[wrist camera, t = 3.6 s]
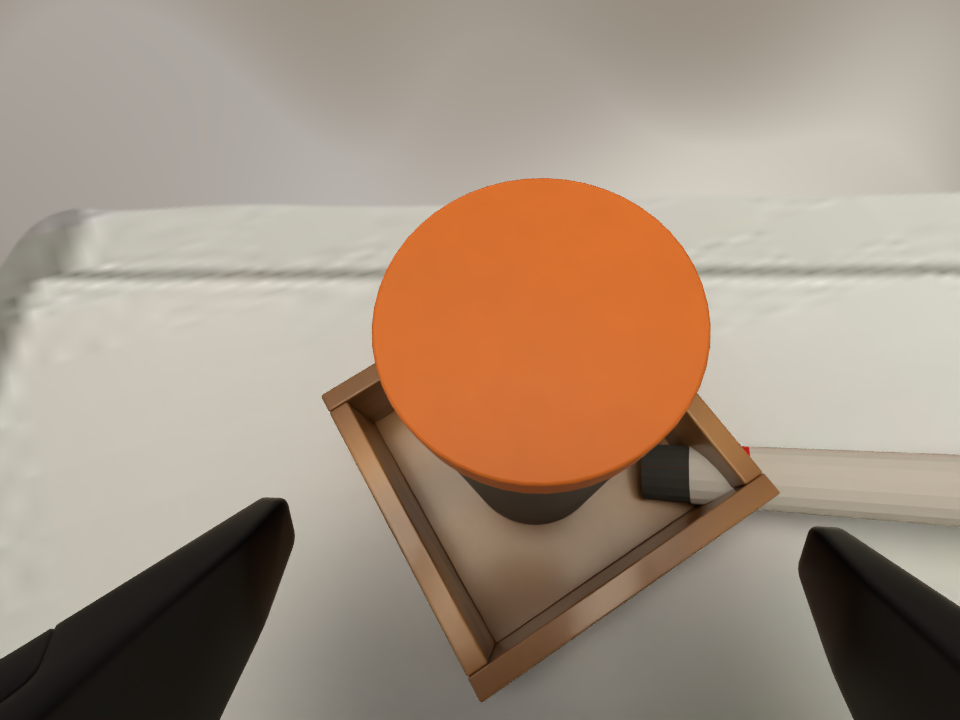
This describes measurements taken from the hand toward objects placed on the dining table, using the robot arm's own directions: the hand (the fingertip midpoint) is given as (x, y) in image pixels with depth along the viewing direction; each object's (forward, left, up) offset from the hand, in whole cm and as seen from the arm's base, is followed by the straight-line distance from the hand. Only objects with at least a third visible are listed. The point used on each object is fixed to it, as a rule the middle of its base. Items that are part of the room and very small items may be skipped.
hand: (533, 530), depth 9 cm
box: (+2, -2, -10) cm, 11 cm away
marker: (-5, -11, -8) cm, 14 cm away
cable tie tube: (+2, -2, -10) cm, 10 cm away
